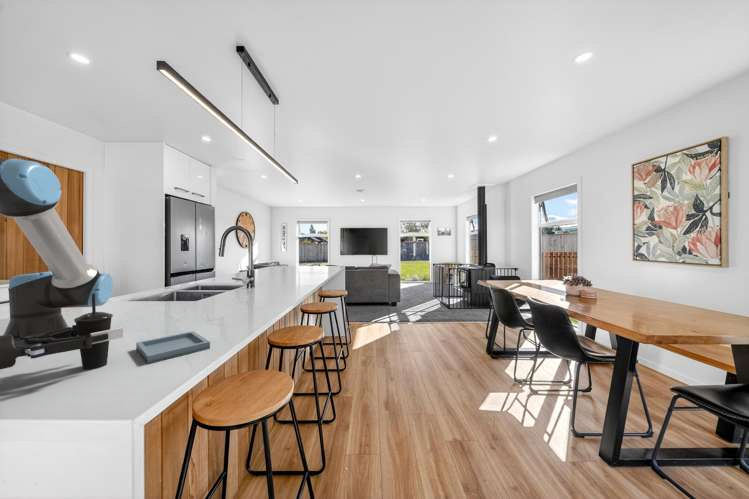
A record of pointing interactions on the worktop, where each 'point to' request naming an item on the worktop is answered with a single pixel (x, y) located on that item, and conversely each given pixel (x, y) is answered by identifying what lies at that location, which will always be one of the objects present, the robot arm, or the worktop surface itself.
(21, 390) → the worktop surface
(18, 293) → the robot arm
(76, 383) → the worktop surface
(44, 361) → the worktop surface
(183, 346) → the slate tray
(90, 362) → the drinking cup
